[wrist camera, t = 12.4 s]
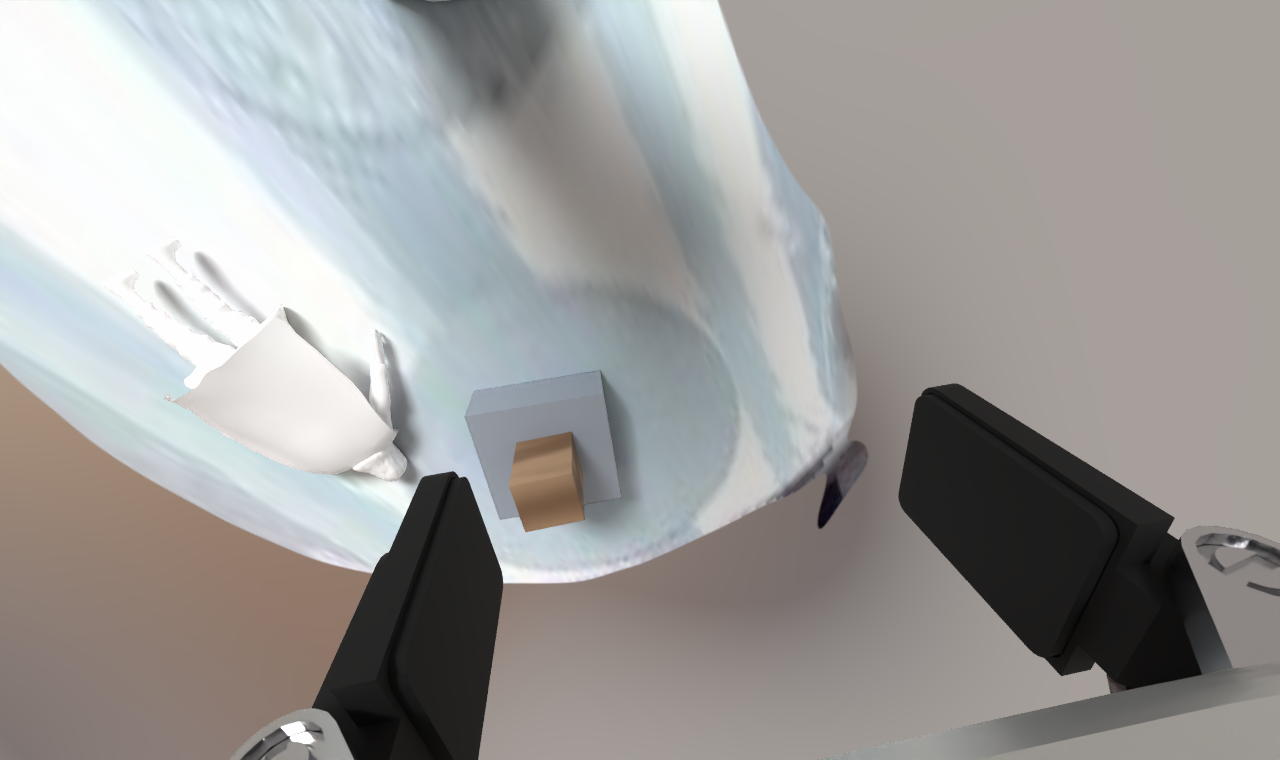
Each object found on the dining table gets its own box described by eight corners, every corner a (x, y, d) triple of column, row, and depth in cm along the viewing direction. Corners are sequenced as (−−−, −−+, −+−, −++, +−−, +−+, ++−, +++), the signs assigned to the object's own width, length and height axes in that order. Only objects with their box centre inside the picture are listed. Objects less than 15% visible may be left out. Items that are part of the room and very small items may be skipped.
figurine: (87, 310, 37) (341, 502, 49) (-35, 355, 29) (301, 571, 41) (248, 189, 35) (474, 421, 46) (162, 205, 27) (457, 477, 39)
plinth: (474, 389, 45) (464, 416, 40) (599, 368, 46) (603, 393, 41) (505, 486, 50) (499, 519, 46) (616, 466, 51) (621, 497, 47)
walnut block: (516, 442, 42) (508, 486, 37) (571, 431, 42) (571, 473, 37) (530, 485, 44) (525, 532, 39) (582, 474, 45) (584, 519, 39)
